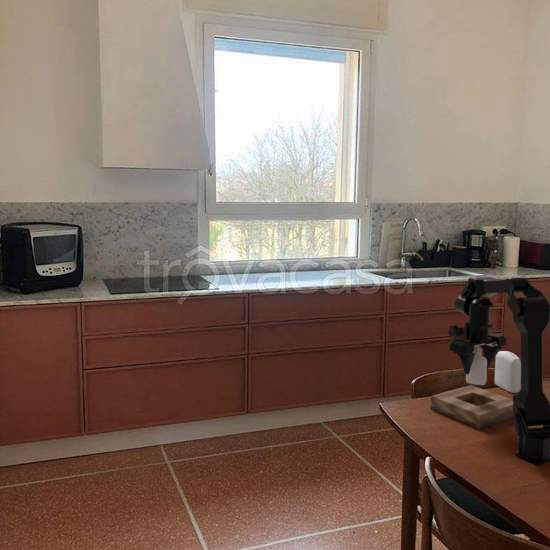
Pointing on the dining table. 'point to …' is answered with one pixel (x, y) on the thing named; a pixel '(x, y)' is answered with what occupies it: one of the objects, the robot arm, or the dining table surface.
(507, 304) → the robot arm
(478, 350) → the eye dropper bottle
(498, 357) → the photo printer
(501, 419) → the socket block
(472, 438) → the dining table surface
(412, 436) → the dining table surface
